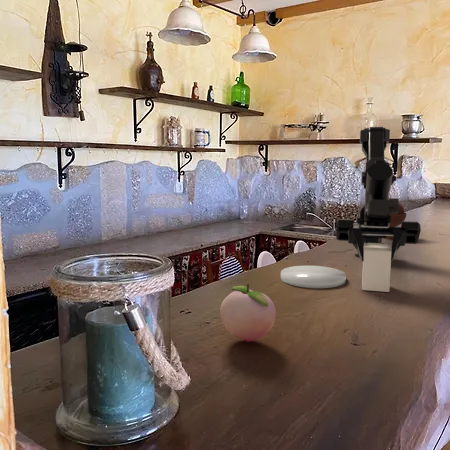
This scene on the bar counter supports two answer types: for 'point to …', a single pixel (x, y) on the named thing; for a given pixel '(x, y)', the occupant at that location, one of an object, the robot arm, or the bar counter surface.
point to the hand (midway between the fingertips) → (376, 261)
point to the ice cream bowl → (397, 219)
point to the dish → (313, 276)
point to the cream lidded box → (376, 267)
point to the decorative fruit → (247, 313)
